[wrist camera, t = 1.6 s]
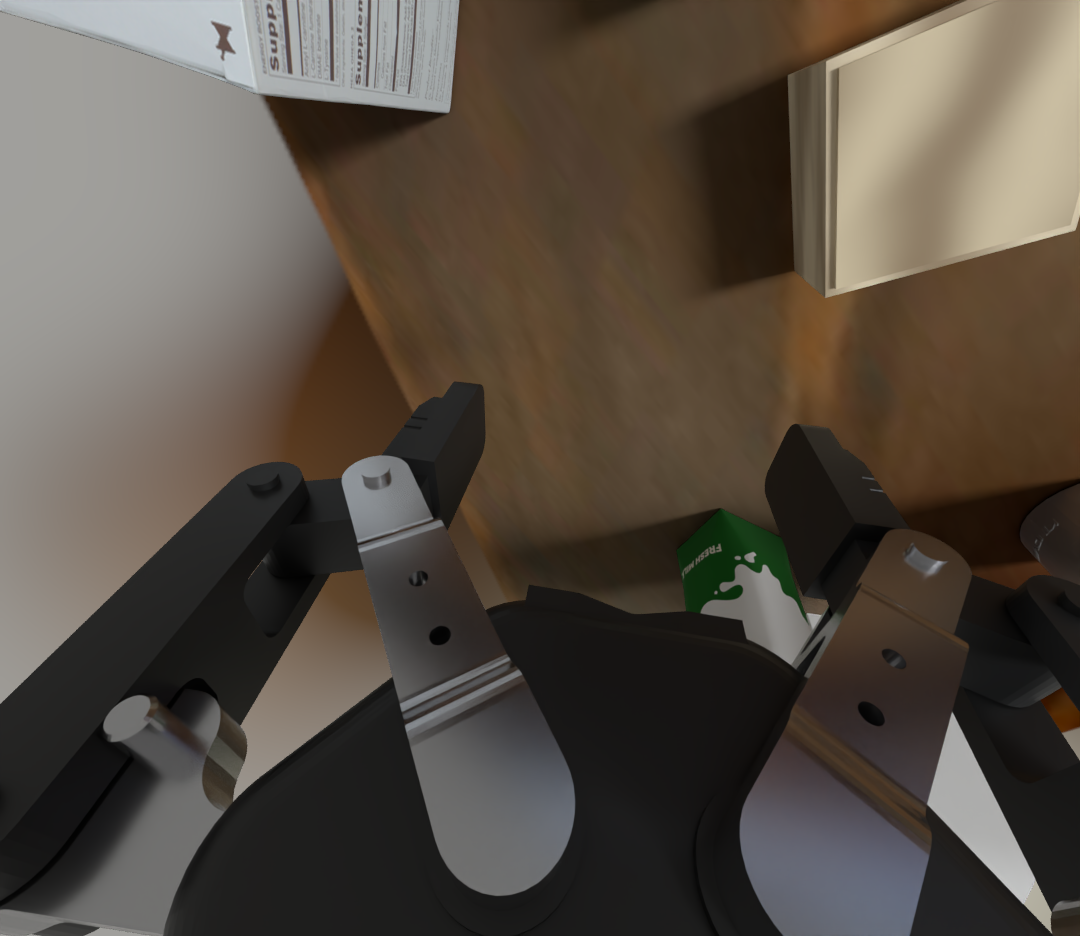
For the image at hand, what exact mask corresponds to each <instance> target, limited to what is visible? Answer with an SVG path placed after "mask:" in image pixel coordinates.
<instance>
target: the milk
mask: <svg viewBox="0 0 1080 936" xmlns="http://www.w3.org/2000/svg"><path fill="white" fill-rule="evenodd" d="M821 616H822V615H817V614H810V613H807V614H806V617H807V620H808V623H809V626H810V629H811V632H812V630H813V629H814V627H815V625H816V624H817V622H818V621H819V619H820V617H821ZM927 805H928V806H929V807H930V808H931V809H932V810H933V811H934V812H935V813H936V814H937V815H938V816H939V817H940V818H941V819H942V820H943V821H944V822H945V823H946V824H947V825H948V826H949V827H950V828H951V829H952V831H953V832H954V833H955V834H956V835H957V836H958V837H959V838H960V839H961V840H962V841H963V842H964V843H965V844H966V845H967V846H968V847H969V848H970V849H971V850H972V851H973V852H974V853H975V854H976V855H977V857H978V858H979V859H980V860H981V861H982V862H983V863H984V864H985V865H986V866H987V867H988V868H989V869H990V870H991V871H992V872H993V873H994V874H995V875H996V876H997V877H998V878H999V879H1000V880H1001V881H1002V883H1003V884H1004V885H1005V886H1006V887H1007V888H1008V889H1009V890H1010V891H1011V892H1012V893H1013V894H1014V895H1015V896H1016V897H1017V898H1018V899H1019V900H1020V901H1021V902H1022V903H1023V904H1024V903H1025V901H1026V899H1027V897H1028V895H1029V893H1030V891H1031V889H1032V887H1033V884H1034V882H1035V877H1034V875H1033V873H1032V871H1031V869H1030V867H1029V865H1028V863H1027V861H1026V859H1025V857H1024V855H1023V853H1022V851H1021V849H1020V847H1019V845H1018V843H1017V841H1016V839H1015V837H1014V835H1013V833H1012V831H1011V829H1010V827H1009V825H1008V823H1007V821H1006V819H1005V817H1004V815H1003V813H1002V811H1001V809H1000V807H999V805H998V803H997V801H996V799H995V797H994V795H993V793H992V791H991V789H990V787H989V785H988V783H987V781H986V779H985V777H984V775H983V773H982V771H981V769H980V767H979V765H978V763H977V760H976V758H975V756H974V754H973V752H972V750H971V748H970V746H969V744H968V742H967V740H966V738H965V736H964V734H963V732H962V730H961V728H960V726H959V724H958V722H957V720H956V718H955V716H954V714H953V712H952V714H951V718H950V721H949V725H948V729H947V732H946V736H945V740H944V744H943V747H942V751H941V755H940V758H939V762H938V766H937V770H936V773H935V777H934V781H933V784H932V788H931V792H930V795H929V799H928V803H927Z"/></svg>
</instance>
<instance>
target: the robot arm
mask: <svg viewBox="0 0 1080 936" xmlns="http://www.w3.org/2000/svg"><path fill="white" fill-rule="evenodd" d="M484 444H485V408H484V390H483V386H482V385H480V384H472V383H463V382H453V384H452V385H451V386H450V388H449V389H448V391H447V392H446V394H445V395H444V396H443V398H438V397H433V398H431V399H430V400H428V401H426V402H424V403H423V404H421V405H419V407H418V408H417V409H416V411H415V412H414V413H413V414H412V416H411V419H409V420H408V421H407V422H406V424H405V425H404V428H402V429H401V430H400V432H399V433H398V434H397V435H396V437H395V438H394V439H393V441H392V442H391V443H390V445H389V446H388V447H387V449H386V450H385V451H384V453H383V454H382V455H381V456H374V457H369V458H365V459H363V460H360V461H358V462H356V463H355V464H353V465H352V466H350V467H349V468H348V469H347V470H346V471H345V472H344V474H343V476H342V478H338V479H327V480H313V481H304V478H303V475H302V472H301V471H300V469H299V468H298V467H297V466H295V465H293V464H290V463H285V462H271V463H265V464H260V465H257V466H254V467H252V468H249V469H247V470H245V471H243V472H241V473H240V474H238V475H237V476H236V477H235V478H233V479H232V480H231V481H230V482H229V483H228V484H227V485H226V486H225V487H224V488H223V489H222V490H221V491H220V492H219V493H218V494H217V495H216V496H214V497H213V498H212V499H211V501H209V502H208V503H207V504H206V505H205V506H204V507H203V508H202V509H201V510H200V511H199V512H198V513H197V514H196V515H195V516H194V517H193V518H192V519H191V520H190V521H189V522H188V523H187V524H186V525H185V526H184V527H182V528H181V529H180V530H179V531H178V532H177V533H176V535H174V536H173V537H172V538H171V539H170V540H169V541H168V542H167V543H166V544H165V545H164V546H163V547H162V548H161V549H160V550H159V551H158V552H157V553H156V554H155V555H154V556H153V557H152V558H150V559H149V561H147V562H146V564H144V565H143V566H142V567H141V568H140V569H139V570H138V571H137V572H136V573H135V574H134V575H133V576H132V577H131V578H130V579H129V580H128V581H127V582H126V583H125V584H124V585H123V586H122V587H121V588H120V589H119V590H117V591H116V592H115V593H114V594H113V595H112V596H111V597H110V598H109V599H108V600H107V601H106V602H105V603H104V604H103V605H102V606H101V607H100V608H99V609H98V610H97V611H96V612H95V613H94V614H93V615H92V616H91V617H90V618H89V619H88V620H87V621H85V623H83V624H82V625H81V626H80V627H79V628H78V629H77V630H76V631H75V632H74V633H73V634H72V635H71V636H70V637H69V638H68V639H67V640H66V641H65V642H64V643H63V644H62V645H61V646H60V647H59V648H58V649H57V650H56V651H55V652H54V653H52V654H51V655H50V656H49V657H48V658H47V659H46V660H45V661H44V662H43V663H42V664H41V665H40V666H39V667H38V668H37V669H36V670H35V671H34V672H33V673H32V674H31V675H30V676H29V677H28V678H27V679H26V680H25V681H24V682H23V683H22V684H21V685H19V686H18V688H17V689H15V690H14V691H13V692H12V693H11V694H10V695H9V696H8V697H7V698H6V699H5V700H4V701H3V702H2V703H1V704H0V934H4V935H10V936H25V935H29V934H34V935H41V936H84V935H86V934H89V933H91V932H93V931H95V930H97V929H99V928H100V927H101V928H107V929H113V930H119V931H125V932H132V933H138V934H144V935H151V936H1080V760H1079V759H1078V757H1077V756H1076V754H1075V753H1074V751H1073V750H1072V748H1071V747H1070V745H1069V744H1068V742H1067V741H1066V739H1065V738H1064V736H1063V735H1062V733H1061V731H1060V730H1059V728H1058V727H1057V725H1056V724H1055V722H1054V721H1053V719H1052V718H1051V716H1050V715H1049V713H1048V712H1047V710H1046V709H1045V707H1044V706H1043V704H1042V703H1041V701H1040V700H1041V699H1042V698H1044V697H1046V696H1047V695H1049V694H1051V693H1052V692H1054V691H1056V690H1058V689H1059V688H1061V687H1062V688H1063V689H1064V690H1065V692H1066V693H1067V695H1068V696H1069V697H1070V699H1071V700H1072V702H1073V703H1074V704H1075V706H1076V707H1077V709H1078V710H1079V711H1080V484H1077V485H1075V486H1072V487H1070V488H1067V489H1065V490H1063V491H1060V492H1059V493H1057V494H1055V495H1053V496H1052V497H1050V498H1048V499H1046V500H1045V501H1044V502H1042V503H1041V504H1040V505H1038V506H1037V507H1036V508H1035V509H1034V510H1033V511H1032V512H1031V513H1030V514H1029V515H1028V516H1027V517H1026V519H1025V520H1024V522H1023V523H1022V525H1021V529H1020V539H1021V542H1022V543H1023V545H1024V546H1025V547H1026V548H1027V549H1028V551H1029V552H1030V553H1031V554H1032V555H1033V556H1034V557H1035V558H1036V559H1037V560H1038V561H1039V562H1040V563H1041V564H1042V565H1043V566H1044V568H1045V569H1046V570H1047V571H1048V572H1049V573H1050V574H1051V575H1052V576H1047V575H1037V576H1033V577H1031V578H1029V579H1028V580H1027V581H1025V582H1024V583H1023V584H1022V585H1021V586H1020V587H1018V588H1017V589H1016V590H1015V589H1012V588H1009V587H1006V586H1003V585H1000V584H997V583H994V582H991V581H989V580H986V579H983V578H980V577H977V576H974V575H972V573H971V569H970V567H969V565H968V564H967V562H966V561H965V560H964V559H963V558H962V556H961V555H960V554H958V553H957V552H956V551H955V550H954V549H952V548H951V547H950V546H948V545H947V544H945V543H943V542H942V541H940V540H938V539H936V538H934V537H932V536H929V535H927V534H924V533H922V532H918V531H914V530H911V529H910V528H909V526H908V525H907V524H906V522H905V521H904V519H903V518H902V516H901V515H900V514H899V512H898V511H897V509H896V508H895V506H894V505H893V504H892V502H891V501H890V499H889V498H888V496H887V495H886V494H885V493H883V489H882V488H881V486H880V485H879V484H878V482H877V481H874V479H875V478H874V476H873V475H872V474H871V472H870V471H869V469H868V468H867V466H866V465H865V464H864V463H863V462H862V461H860V460H859V459H858V458H857V457H855V456H854V455H853V454H851V453H850V452H849V451H848V450H844V449H843V448H842V447H841V445H840V444H839V442H838V441H837V439H836V438H835V436H834V435H833V433H832V432H831V430H830V429H829V428H826V427H818V426H810V425H801V424H794V425H792V426H791V427H790V428H789V429H788V431H787V433H786V435H785V437H784V439H783V441H782V443H781V445H780V447H779V449H778V451H777V454H776V456H775V458H774V460H773V462H772V464H771V466H770V468H769V470H768V473H767V476H766V480H765V494H766V497H767V500H768V502H769V505H770V508H771V511H772V513H773V516H774V519H775V521H776V524H777V527H778V529H779V532H780V535H781V538H782V540H783V543H784V546H785V548H786V551H787V554H788V556H789V559H790V562H791V564H792V567H793V570H794V573H795V575H796V578H797V581H798V583H799V586H800V589H801V591H802V594H803V596H805V597H812V598H818V599H824V600H827V602H828V604H829V607H828V608H827V609H826V610H825V612H824V613H823V614H822V616H821V617H820V619H819V621H818V622H817V624H816V625H815V627H814V629H813V630H812V632H811V634H810V635H809V637H808V638H807V640H806V642H805V643H804V645H803V647H802V648H801V650H800V652H799V653H798V655H797V656H796V658H795V660H794V661H793V663H792V665H790V664H789V663H787V662H786V661H785V660H783V659H782V658H781V657H779V656H778V655H776V654H775V653H773V652H771V651H770V650H768V649H766V648H765V647H763V646H761V645H759V644H757V643H755V642H753V641H751V640H748V639H747V638H746V634H745V630H744V625H743V621H742V620H738V619H732V618H726V617H720V616H714V615H708V614H702V613H696V612H690V611H684V612H668V613H652V614H631V613H628V612H625V611H623V610H620V609H618V608H615V607H613V606H610V605H608V604H605V603H603V602H600V601H598V600H595V599H593V598H590V597H588V596H585V595H583V594H580V593H575V592H569V591H563V590H557V589H551V588H545V587H539V586H533V585H529V588H528V592H527V597H526V600H522V601H513V602H508V603H503V604H500V605H497V606H494V607H491V608H489V609H487V610H485V608H484V607H483V604H482V602H481V600H480V598H479V596H478V594H477V592H476V590H475V588H474V586H473V584H472V582H471V580H470V577H469V575H468V573H467V571H466V569H465V567H464V565H463V563H462V561H461V559H460V557H459V555H458V553H457V551H456V549H455V547H454V544H453V543H452V541H451V538H450V536H449V534H448V532H447V530H448V528H449V526H450V524H451V521H452V520H453V517H454V515H455V513H456V510H457V508H458V506H459V504H460V502H461V500H462V497H463V495H464V493H465V491H466V489H467V486H468V484H469V482H470V480H471V478H472V475H473V473H474V471H475V469H476V467H477V464H478V462H479V460H480V458H481V456H482V453H483V449H484ZM262 560H263V561H262ZM261 561H262V562H261ZM260 562H261V563H260ZM259 563H260V565H259ZM258 565H259V566H258ZM257 566H258V567H257ZM256 567H257V569H256ZM255 569H256V570H255ZM363 569H364V572H365V576H366V579H367V583H368V586H369V590H370V594H371V598H372V602H373V605H374V609H375V613H376V617H377V620H378V624H379V628H380V632H381V635H382V639H383V643H384V647H385V650H386V654H387V658H388V662H389V665H390V669H391V673H392V678H390V679H389V680H388V681H387V682H385V683H384V684H382V685H381V686H380V687H378V688H377V689H376V690H374V691H373V692H372V693H370V694H369V695H368V696H367V697H365V698H364V699H363V700H361V701H360V702H359V703H357V704H356V705H355V706H353V707H352V708H351V709H349V710H348V711H347V712H345V713H344V714H343V715H342V716H340V717H339V718H338V719H336V720H335V721H334V722H332V723H331V724H330V725H328V726H327V727H326V728H324V729H323V730H322V731H320V732H319V733H318V734H316V735H315V736H314V737H313V738H311V739H310V740H308V741H307V742H306V743H305V744H303V745H302V746H301V747H299V748H298V749H297V750H295V751H294V752H293V753H292V754H290V755H289V756H287V757H286V758H285V759H284V760H282V761H281V762H279V763H278V764H277V765H276V766H274V767H273V768H272V769H270V770H269V771H268V772H266V773H265V774H264V775H262V776H261V777H260V778H259V779H257V780H256V781H255V782H254V783H253V784H251V785H250V786H249V787H248V788H247V789H246V790H245V791H244V792H243V793H242V794H241V795H239V796H238V798H237V799H236V800H235V801H234V802H233V795H234V788H235V785H236V781H237V778H238V776H239V774H240V771H241V769H242V766H243V764H244V761H245V757H246V754H247V739H246V735H245V733H244V731H243V729H242V728H241V727H240V725H241V724H242V722H243V720H244V718H245V717H246V715H247V713H248V712H249V710H250V708H251V707H252V705H253V703H254V702H255V700H256V698H257V697H258V695H259V693H260V692H261V689H262V688H263V687H264V685H265V683H266V681H267V680H268V678H269V676H270V675H271V673H272V671H273V670H274V668H275V666H276V664H277V663H278V661H279V660H280V658H281V656H282V655H283V653H284V651H285V649H286V648H287V646H288V644H289V643H290V641H291V639H292V638H293V636H294V634H295V633H296V631H297V629H298V628H299V626H300V624H301V623H302V621H303V619H304V617H305V616H306V614H307V612H308V611H309V609H310V607H311V606H312V604H313V602H314V601H315V599H316V597H317V596H318V594H319V592H320V591H321V589H322V587H323V585H324V584H325V582H326V580H327V579H328V577H329V575H330V574H331V573H336V572H345V571H353V570H363ZM254 570H255V571H254ZM253 571H254V573H253ZM252 573H253V574H252ZM251 574H252V575H251ZM250 575H251V576H250ZM249 577H250V578H249ZM248 578H249V579H248ZM952 712H953V714H954V716H955V718H956V720H957V722H958V724H959V726H960V728H961V730H962V732H963V734H964V736H965V738H966V740H967V742H968V744H969V746H970V748H971V750H972V752H973V754H974V756H975V758H976V760H977V763H978V765H979V767H980V769H981V771H982V773H983V775H984V777H985V779H986V781H987V783H988V785H989V787H990V789H991V791H992V793H993V795H994V797H995V799H996V801H997V803H998V805H999V807H1000V809H1001V811H1002V813H1003V815H1004V817H1005V819H1006V821H1007V823H1008V825H1009V827H1010V829H1011V831H1012V833H1013V835H1014V837H1015V839H1016V841H1017V843H1018V845H1019V847H1020V849H1021V851H1022V853H1023V855H1024V857H1025V859H1026V861H1027V863H1028V865H1029V867H1030V869H1031V871H1032V873H1033V875H1034V877H1035V879H1036V881H1037V884H1038V886H1039V888H1040V890H1041V892H1042V893H1043V896H1044V897H1045V900H1046V902H1047V904H1048V906H1049V908H1050V910H1051V912H1052V915H1051V930H1052V933H1050V931H1049V930H1048V929H1047V928H1045V926H1044V925H1043V924H1042V923H1041V922H1040V921H1039V920H1038V919H1037V918H1036V917H1035V916H1034V915H1033V914H1032V913H1031V912H1030V911H1029V910H1028V909H1027V907H1026V906H1025V905H1024V904H1023V903H1022V902H1021V901H1020V900H1019V899H1018V898H1017V897H1016V896H1015V895H1014V894H1013V893H1012V892H1011V891H1010V890H1009V889H1008V888H1007V887H1006V886H1005V885H1004V884H1003V883H1002V881H1001V880H1000V879H999V878H998V877H997V876H996V875H995V874H994V873H993V872H992V871H991V870H990V869H989V868H988V867H987V866H986V865H985V864H984V863H983V862H982V861H981V860H980V859H979V858H978V857H977V855H976V854H975V853H974V852H973V851H972V850H971V849H970V848H969V847H968V846H967V845H966V844H965V843H964V842H963V841H962V840H961V839H960V838H959V837H958V836H957V835H956V834H955V833H954V832H953V831H952V829H951V828H950V827H949V826H948V825H947V824H946V823H945V822H944V821H943V820H942V819H941V818H940V817H939V816H938V815H937V814H936V813H935V812H934V811H933V810H932V809H931V808H930V807H929V806H928V805H927V803H928V799H929V795H930V792H931V788H932V784H933V781H934V777H935V773H936V770H937V766H938V762H939V758H940V755H941V751H942V747H943V744H944V740H945V736H946V732H947V729H948V725H949V721H950V718H951V714H952ZM1052 934H1053V935H1052Z"/></svg>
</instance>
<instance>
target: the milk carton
mask: <svg viewBox="0 0 1080 936" xmlns="http://www.w3.org/2000/svg"><path fill="white" fill-rule="evenodd" d="M676 552H677V557H678V562H679V567H680V573H681V578H682V583H683V588H684V596H685V605H686V611H690V612H696V613H702V614H708V615H714V616H720V617H726V618H732V619H738V620H742V621H743V625H744V630H745V634H746V638H747V639H748V640H751V641H753V642H755V643H757V644H759V645H761V646H763V647H765V648H766V649H768V650H770V651H771V652H773V653H775V654H776V655H778V656H779V657H781V658H782V659H783V660H785V661H786V662H787V663H789V664H790V665H792V663H793V661H794V660H795V658H796V656H797V655H798V653H799V652H800V650H801V648H802V647H803V645H804V643H805V642H806V640H807V638H808V637H809V635H810V634H811V629H810V626H809V623H808V620H807V617H806V615H805V612H804V609H803V606H802V603H801V600H800V598H799V595H798V592H797V589H796V586H795V583H794V580H793V577H792V573H791V569H790V564H789V560H788V556H787V551H786V548H785V546H784V543H783V540H782V538H781V537H779V536H777V535H775V534H772V533H770V532H768V531H766V530H764V529H762V528H760V527H758V526H756V525H754V524H752V523H750V522H748V521H746V520H743V519H741V518H739V517H737V516H735V515H733V514H731V513H729V512H727V511H725V510H723V509H720V510H719V511H718V512H717V513H715V514H714V515H713V516H712V517H711V518H710V519H709V520H708V521H707V522H706V523H705V524H704V525H703V526H702V527H701V528H700V529H699V530H697V531H696V532H695V533H694V534H693V535H692V536H691V537H690V538H689V539H688V540H687V541H686V542H685V543H684V544H683V545H682V546H681V547H679V548H678V549H677V550H676Z"/></svg>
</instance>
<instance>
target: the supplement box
mask: <svg viewBox="0 0 1080 936" xmlns="http://www.w3.org/2000/svg"><path fill="white" fill-rule="evenodd" d="M458 9H459V0H0V12H3V13H7V14H10V15H14V16H18V17H21V18H24V19H28V20H31V21H35V22H38V23H42V24H45V25H49V26H52V27H55V28H59V29H63V30H66V31H69V32H73V33H76V34H80V35H83V36H86V37H90V38H93V39H97V40H100V41H104V42H107V43H110V44H114V45H117V46H120V47H123V48H126V49H130V50H133V51H136V52H139V53H142V54H145V55H148V56H152V57H154V58H157V59H161V60H163V61H166V62H169V63H172V64H175V65H178V66H181V67H184V68H187V69H190V70H193V71H196V72H199V73H202V74H204V75H208V76H210V77H213V78H216V79H219V80H221V81H224V82H227V83H229V84H232V85H234V86H237V87H240V88H242V89H245V90H247V91H249V92H251V93H253V94H259V95H268V96H277V97H287V98H297V99H307V100H316V101H326V102H338V103H350V104H365V105H374V106H383V107H391V108H399V109H408V110H418V111H428V112H438V113H449V112H450V105H451V93H452V82H453V70H454V58H455V46H456V34H457V22H458Z"/></svg>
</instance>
